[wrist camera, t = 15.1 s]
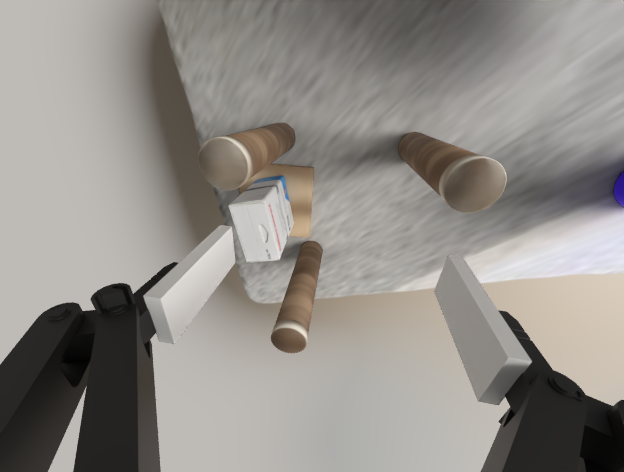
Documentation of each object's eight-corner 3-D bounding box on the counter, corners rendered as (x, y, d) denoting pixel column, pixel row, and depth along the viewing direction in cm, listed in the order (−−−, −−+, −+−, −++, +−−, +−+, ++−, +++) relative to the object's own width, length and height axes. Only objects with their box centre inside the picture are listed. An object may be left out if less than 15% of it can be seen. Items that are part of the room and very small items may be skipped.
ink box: (256, 178, 40) (224, 203, 30) (286, 174, 39) (264, 199, 29) (268, 227, 44) (244, 264, 34) (296, 224, 43) (280, 262, 33)
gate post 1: (268, 121, 37) (194, 135, 19) (295, 123, 36) (246, 139, 19) (269, 150, 39) (202, 187, 21) (295, 152, 38) (249, 192, 21)
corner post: (300, 239, 45) (270, 325, 27) (323, 242, 45) (307, 330, 27) (300, 258, 47) (271, 350, 29) (321, 261, 47) (305, 355, 29)
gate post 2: (401, 130, 35) (453, 155, 17) (431, 132, 35) (516, 159, 17) (394, 160, 37) (437, 210, 19) (423, 163, 37) (493, 215, 19)
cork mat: (238, 161, 40) (237, 162, 39) (313, 167, 39) (313, 168, 38) (244, 228, 46) (242, 230, 45) (309, 235, 45) (309, 237, 44)
